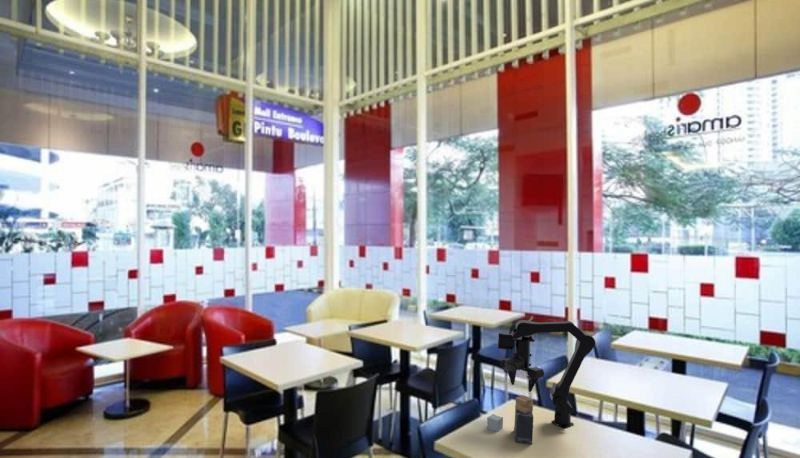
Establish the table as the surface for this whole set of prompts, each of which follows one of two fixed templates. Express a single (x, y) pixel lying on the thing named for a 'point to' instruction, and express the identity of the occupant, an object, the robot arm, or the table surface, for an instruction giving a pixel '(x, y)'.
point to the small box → (523, 427)
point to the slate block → (495, 423)
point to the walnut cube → (524, 404)
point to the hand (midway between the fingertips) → (521, 388)
